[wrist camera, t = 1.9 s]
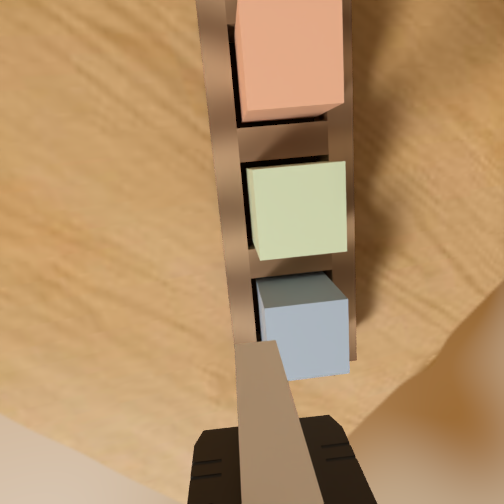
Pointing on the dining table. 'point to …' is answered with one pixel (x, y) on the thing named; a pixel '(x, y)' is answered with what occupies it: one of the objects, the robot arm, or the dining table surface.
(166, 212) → the dining table surface
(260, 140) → the wooden cube holder tray
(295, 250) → the pastel lime cube
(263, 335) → the pale blue-grey cube
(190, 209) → the dining table surface
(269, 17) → the salmon pink cube
